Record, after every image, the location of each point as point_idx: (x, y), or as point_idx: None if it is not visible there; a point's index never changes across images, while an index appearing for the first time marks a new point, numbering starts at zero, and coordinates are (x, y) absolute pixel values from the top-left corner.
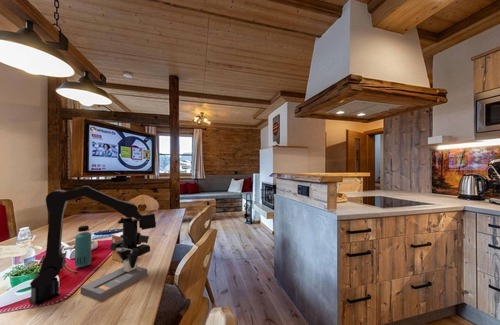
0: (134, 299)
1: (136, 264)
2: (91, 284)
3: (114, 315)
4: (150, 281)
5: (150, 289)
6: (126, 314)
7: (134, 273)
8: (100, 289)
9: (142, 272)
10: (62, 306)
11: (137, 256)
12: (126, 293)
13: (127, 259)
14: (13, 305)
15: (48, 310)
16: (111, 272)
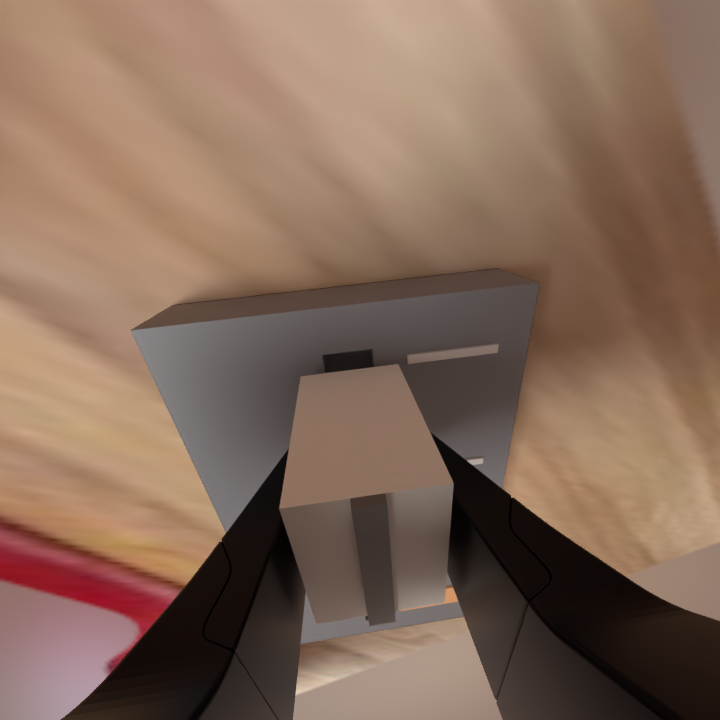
0: (636, 491)
1: (410, 392)
2: (309, 619)
3: (617, 564)
4: (619, 335)
5: (684, 399)
6: (667, 543)
7: (470, 423)
8: (432, 607)
9: (519, 352)
10: (339, 638)
11: (598, 579)
12: (544, 490)
13: (341, 589)
14: None
15: (320, 659)
16: (220, 519)
